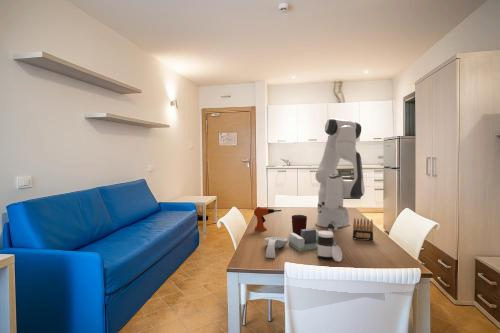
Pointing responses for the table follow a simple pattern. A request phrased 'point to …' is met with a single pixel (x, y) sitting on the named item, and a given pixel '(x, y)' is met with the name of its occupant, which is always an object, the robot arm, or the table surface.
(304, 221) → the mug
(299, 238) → the vise
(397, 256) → the table surface
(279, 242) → the spoon rest
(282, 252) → the table surface
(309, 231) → the steel block
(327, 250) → the spread jar
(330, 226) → the sliding jaw
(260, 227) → the toy drill
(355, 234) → the ammunition clip
